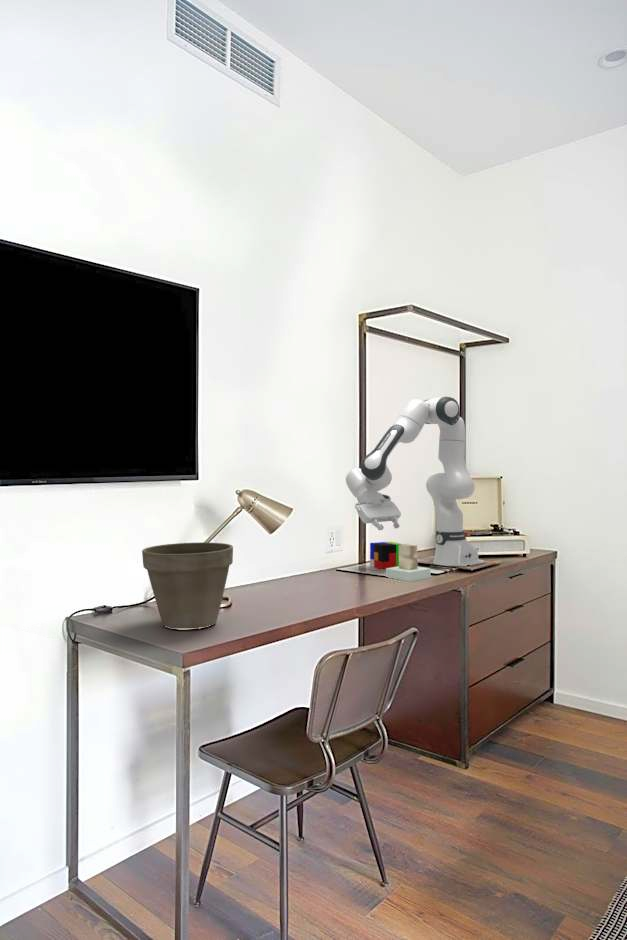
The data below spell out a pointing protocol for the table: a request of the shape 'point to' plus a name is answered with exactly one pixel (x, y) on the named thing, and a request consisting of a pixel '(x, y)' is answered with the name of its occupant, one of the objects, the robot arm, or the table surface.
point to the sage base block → (408, 573)
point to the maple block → (408, 556)
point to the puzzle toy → (384, 555)
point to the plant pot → (188, 581)
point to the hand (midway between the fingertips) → (389, 528)
